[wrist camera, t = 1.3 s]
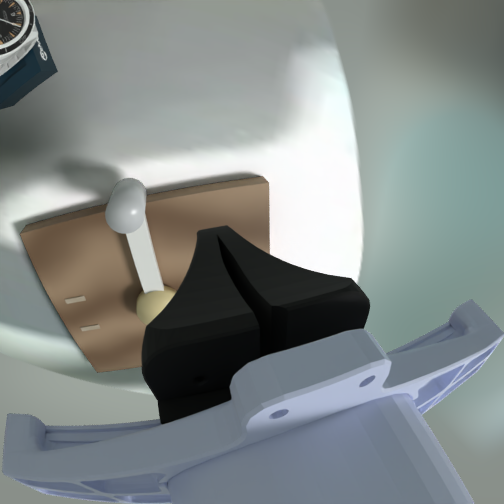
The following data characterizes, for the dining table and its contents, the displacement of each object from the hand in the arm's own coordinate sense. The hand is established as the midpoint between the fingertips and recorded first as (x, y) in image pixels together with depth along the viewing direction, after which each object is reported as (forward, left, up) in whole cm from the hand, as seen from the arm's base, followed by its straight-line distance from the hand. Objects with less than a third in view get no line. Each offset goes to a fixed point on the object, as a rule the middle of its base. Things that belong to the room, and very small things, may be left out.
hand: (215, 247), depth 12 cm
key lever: (-5, +5, -9) cm, 11 cm away
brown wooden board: (-10, +4, -10) cm, 15 cm away
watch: (+12, +12, -11) cm, 20 cm away
